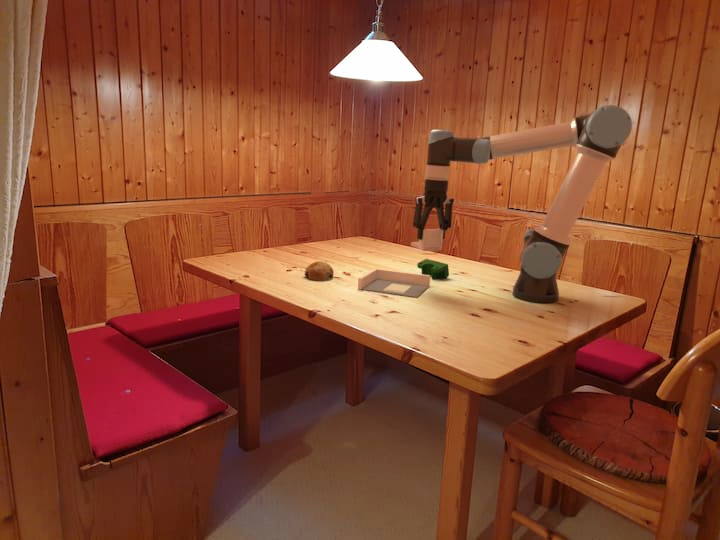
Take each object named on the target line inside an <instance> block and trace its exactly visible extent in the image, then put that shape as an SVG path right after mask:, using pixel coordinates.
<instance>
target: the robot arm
mask: <svg viewBox="0 0 720 540" xmlns="http://www.w3.org/2000/svg"><path fill="white" fill-rule="evenodd" d="M632 128H633V121H632V118H631V115H630V114H629V113H628V112H627V110H626V109H624V108H622V107H621V106H618V105H613V104H608V105H607V104H605V105H603V106H600V107H598V108H597V109H595V110H594V111H592V112H590V113H588V114H584V115H582V116H575V117H573V118H572V119H571V120H570V121H568V122H561V123H555V124H551V125H545V126H539V127H534V128H529V129H523V130H517V131H512V132H507V133H501V134H495V135H491V136H484V137H477V138H476V137H474V138H473V137H457V136H454V132H453V130H450V129H449V130H447V129H432V130H430V132H429V138H428V144H427V153H426V154H427V156H426V168H425V169H426V170H425V178H426V179H424V187H423V188H424V192H423V195H422V196H420V197H419V196H416V197H415V199H414V200H415V208H414V214H413V222H412V223H413V224H412V227H413V228H416V229H417V236H416V238H417V240H418V242H419V245H418V248H419V250H421V251H423V250H424V247H425V237H426V230H424V229H425V227H426V226H427V225H426V224H427V222H428V220H429V217H430V214H431V212H432V210H433V209H435V210H436V214H437V215H436V216H437V220H438V225H439V229H441V230H442V234H441V244H440V251H442V249H443V240H444V239H445V238H446V231H448V229H451V228H452V219H453V215H452V214H453V204H454V202H455V199H454V198H453V197H449V196H448V195H447V192H448V190H449V189H448V187H449V181H448V180H447V179H449V178H450V170H451V169H450V168H451V167H450V166H451V162H457V163H458V162H459V163H468V164H469V163H471V164H476V165H478V164H488V162H489V161H490V160H494V159H495V160H496V159H499V158H500V159H501V158H508V157H514V156H519V155H525V154H526V155H527V154H531V153H532V154H533V153H538V152H542V151H543V152H544V151H548V150H555V149H561V148H569V147H574V148H576V149H577V153H576V154H575V157H574V160H573V161H572V163H571V165H570V167H569V169H568V171H567V173H566V175H565V178H564V179H563V182H562V183H561V185H560V187H559V189H558V190H557V193H556V196H555V197H554V199H553V201H552V204H551V205H550V208H549V209H548V211H547V214H546V215H545V218H544V219H543V221H542V223H541V225H539V226H536V227H534V228H533V229H527V230H526V231H524V232H525V233H524V236H523V246H522V252H521V256H520V263H521V264H520V273H519V275H518V276H517V279H516V282H515V283H514V285H513V287H512V296H513V297H515V298H516V297H517V298H516V299H519V300H522V301H526V300H527V302H531V301H533V302H532V303H538V302H546V303H545V304H548V303H547V302H552V303H555V301H556V302H558V301H559V296H560V292H559V287H558V282H557V273H558V272H559V270H560V269H561V267H562V263H563V259H564V257H565V256H566V255H565V254H566V252H568V249H569V247H570V245H571V241H570V240H569V235H570V234H571V232H572V229H573V228H574V226H575V224H576V222H577V220H578V218H579V217H580V214H581V212H582V211H583V208H584V207H585V205H586V203H587V201H588V199H589V197H590V195H591V193H592V191H593V189H594V187H595V185H596V183H597V182H598V180H599V177H600V176H601V174H602V172H603V170H604V168H605V166H606V164H607V163H609V162H611V161H614V160H615V159H616V156H617V155H618V153H619V151H620V149H621V147H622V145H623V144H624V142H626V141H627V139H629V137H630V135H631V133H632ZM444 203H445V204H444ZM418 248H417V249H418ZM557 300H558V301H557Z"/></svg>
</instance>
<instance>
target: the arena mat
mask: <svg viewBox="0 0 720 540" xmlns="http://www.w3.org/2000/svg"><path fill="white" fill-rule="evenodd" d="M428 288H430V286H425V285H418V284H411V283H403V282H396V281H389V280H381V279H375V280H374V281H372V282H371V283H369V284H368V285H366V286H365V287H363V288H362V289H361V290H360V291H365V290H366V292H374V293H378V294H379V293H380V294H387V295H394V296H401V297H408V298H415V299H418V298H419V297H420V296H421V295H422V294H423V293H424V292H426V290H427V289H428Z"/></svg>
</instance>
